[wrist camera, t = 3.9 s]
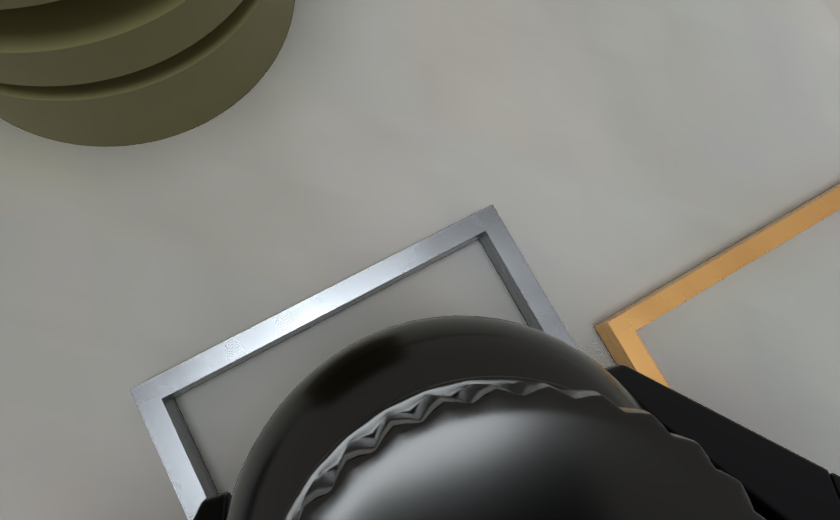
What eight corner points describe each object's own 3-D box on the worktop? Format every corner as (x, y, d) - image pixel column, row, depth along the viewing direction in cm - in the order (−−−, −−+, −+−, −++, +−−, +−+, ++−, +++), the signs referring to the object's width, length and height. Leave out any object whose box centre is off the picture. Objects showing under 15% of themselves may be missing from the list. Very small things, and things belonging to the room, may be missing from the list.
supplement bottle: (341, 316, 17) (290, 149, 5) (559, 387, 17) (1004, 388, 5) (255, 560, 15) (-126, 1170, 3) (497, 636, 15) (948, 1475, 3)
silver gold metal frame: (1119, 544, 17) (1164, 553, 16) (469, 1107, 13) (478, 1165, 12) (778, 63, 20) (799, 47, 19) (144, 389, 16) (129, 389, 15)
